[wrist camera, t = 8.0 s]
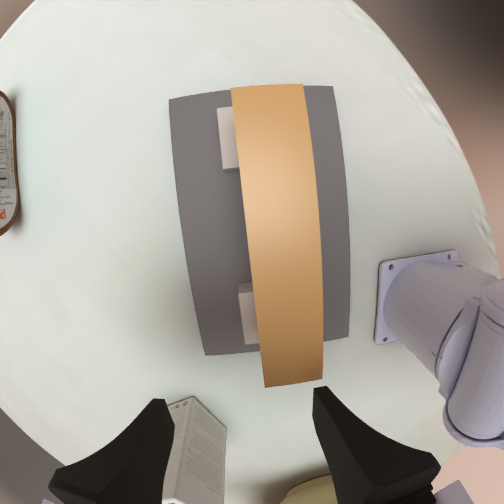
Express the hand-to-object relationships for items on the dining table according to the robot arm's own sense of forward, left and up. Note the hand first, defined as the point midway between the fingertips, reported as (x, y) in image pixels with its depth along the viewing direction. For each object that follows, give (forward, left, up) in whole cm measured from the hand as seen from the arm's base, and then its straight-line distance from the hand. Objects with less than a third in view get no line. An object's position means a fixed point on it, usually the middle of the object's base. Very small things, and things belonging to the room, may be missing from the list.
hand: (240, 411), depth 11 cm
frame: (-3, -7, -7) cm, 11 cm away
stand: (-3, -7, -10) cm, 13 cm away
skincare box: (+6, +12, -11) cm, 17 cm away
